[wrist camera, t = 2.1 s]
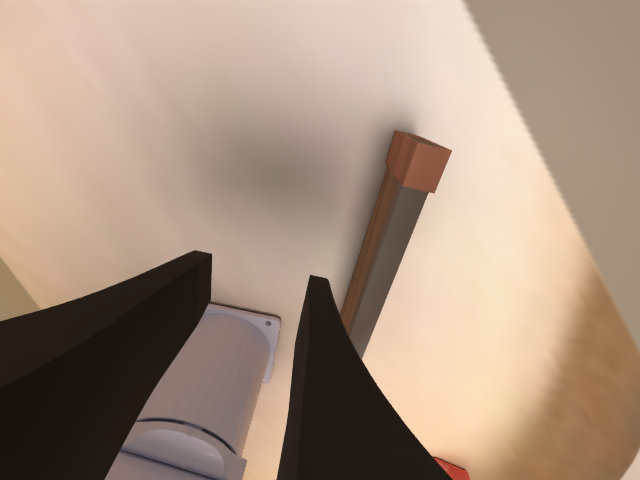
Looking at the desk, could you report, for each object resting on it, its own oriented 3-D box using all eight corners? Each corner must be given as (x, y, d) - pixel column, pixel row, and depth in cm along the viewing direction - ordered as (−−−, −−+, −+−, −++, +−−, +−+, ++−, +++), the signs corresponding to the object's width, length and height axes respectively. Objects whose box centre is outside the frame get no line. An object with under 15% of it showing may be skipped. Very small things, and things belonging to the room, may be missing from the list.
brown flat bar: (328, 343, 23) (325, 404, 19) (394, 130, 16) (417, 142, 11) (345, 346, 23) (345, 408, 19) (418, 135, 16) (452, 150, 11)
